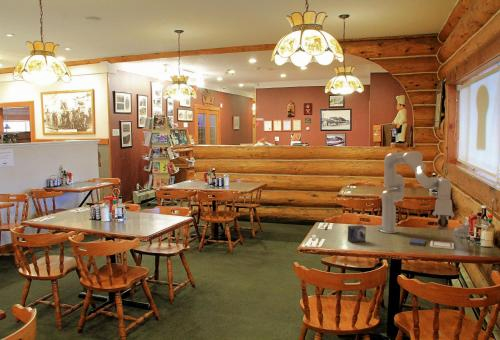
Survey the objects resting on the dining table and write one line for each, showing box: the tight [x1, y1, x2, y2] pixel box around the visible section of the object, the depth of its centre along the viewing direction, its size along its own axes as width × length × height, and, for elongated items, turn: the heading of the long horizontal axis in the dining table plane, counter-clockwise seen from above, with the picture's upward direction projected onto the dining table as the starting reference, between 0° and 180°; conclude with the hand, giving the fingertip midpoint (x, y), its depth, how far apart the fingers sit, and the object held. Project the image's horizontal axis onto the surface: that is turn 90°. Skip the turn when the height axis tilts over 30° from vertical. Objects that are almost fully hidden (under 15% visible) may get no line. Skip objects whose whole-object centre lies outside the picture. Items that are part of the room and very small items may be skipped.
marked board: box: [429, 240, 455, 250], centre depth 277 cm, size 14×14×1 cm
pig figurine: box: [454, 221, 470, 239], centre depth 299 cm, size 5×13×11 cm, turn 97°
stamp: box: [437, 215, 449, 232], centre depth 275 cm, size 6×6×12 cm
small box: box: [347, 224, 367, 244], centre depth 287 cm, size 11×6×10 cm, turn 101°
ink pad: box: [409, 238, 426, 247], centre depth 283 cm, size 9×12×2 cm
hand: (443, 225), depth 276 cm, fingers closed on stamp, 3 cm apart
